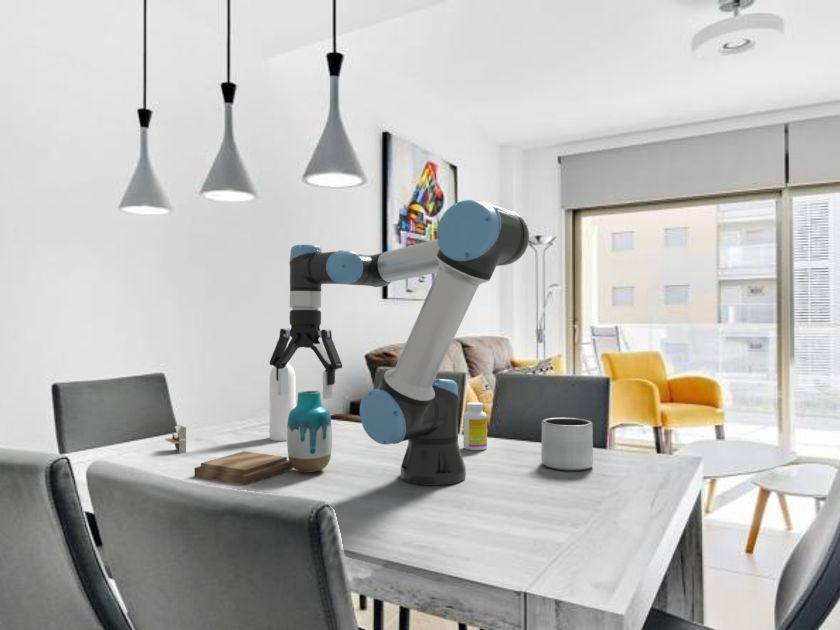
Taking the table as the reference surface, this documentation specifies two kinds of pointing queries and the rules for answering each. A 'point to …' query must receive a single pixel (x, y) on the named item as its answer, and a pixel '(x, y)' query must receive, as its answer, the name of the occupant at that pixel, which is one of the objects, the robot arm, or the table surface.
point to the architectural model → (179, 439)
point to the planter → (567, 444)
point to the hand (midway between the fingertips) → (304, 396)
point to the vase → (309, 433)
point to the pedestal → (243, 467)
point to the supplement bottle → (475, 427)
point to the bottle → (281, 404)
